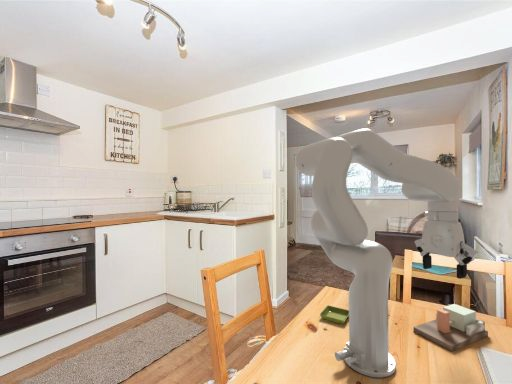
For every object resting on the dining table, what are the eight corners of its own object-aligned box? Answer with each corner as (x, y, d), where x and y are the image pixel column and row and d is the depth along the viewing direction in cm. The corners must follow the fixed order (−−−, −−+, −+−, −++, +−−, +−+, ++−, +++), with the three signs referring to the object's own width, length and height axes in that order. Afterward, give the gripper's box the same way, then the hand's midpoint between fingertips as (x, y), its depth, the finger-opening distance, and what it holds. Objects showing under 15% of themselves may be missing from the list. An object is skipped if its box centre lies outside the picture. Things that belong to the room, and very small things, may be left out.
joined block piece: (452, 336, 75) (452, 316, 75) (431, 326, 81) (431, 307, 81) (475, 327, 80) (475, 308, 80) (454, 318, 85) (454, 300, 85)
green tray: (319, 320, 90) (319, 314, 90) (327, 310, 97) (327, 304, 97) (344, 327, 85) (344, 321, 85) (351, 316, 92) (351, 310, 92)
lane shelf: (451, 351, 71) (451, 337, 71) (413, 331, 81) (413, 318, 81) (488, 336, 78) (487, 322, 78) (448, 319, 88) (448, 308, 88)
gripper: (407, 215, 85) (408, 267, 85) (468, 220, 69) (469, 284, 69) (422, 213, 88) (423, 263, 88) (483, 218, 72) (484, 279, 72)
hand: (443, 272), depth 78 cm, fingers open, 9 cm apart
